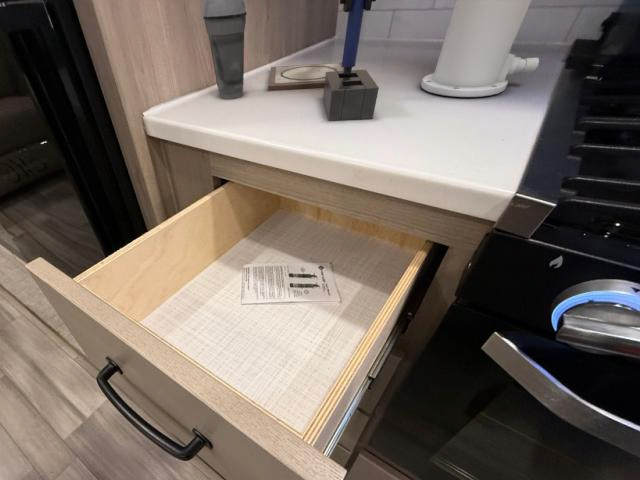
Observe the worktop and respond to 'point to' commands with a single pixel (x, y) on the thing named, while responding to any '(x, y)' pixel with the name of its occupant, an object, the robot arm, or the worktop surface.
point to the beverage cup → (227, 44)
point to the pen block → (349, 95)
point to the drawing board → (301, 76)
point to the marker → (352, 35)
